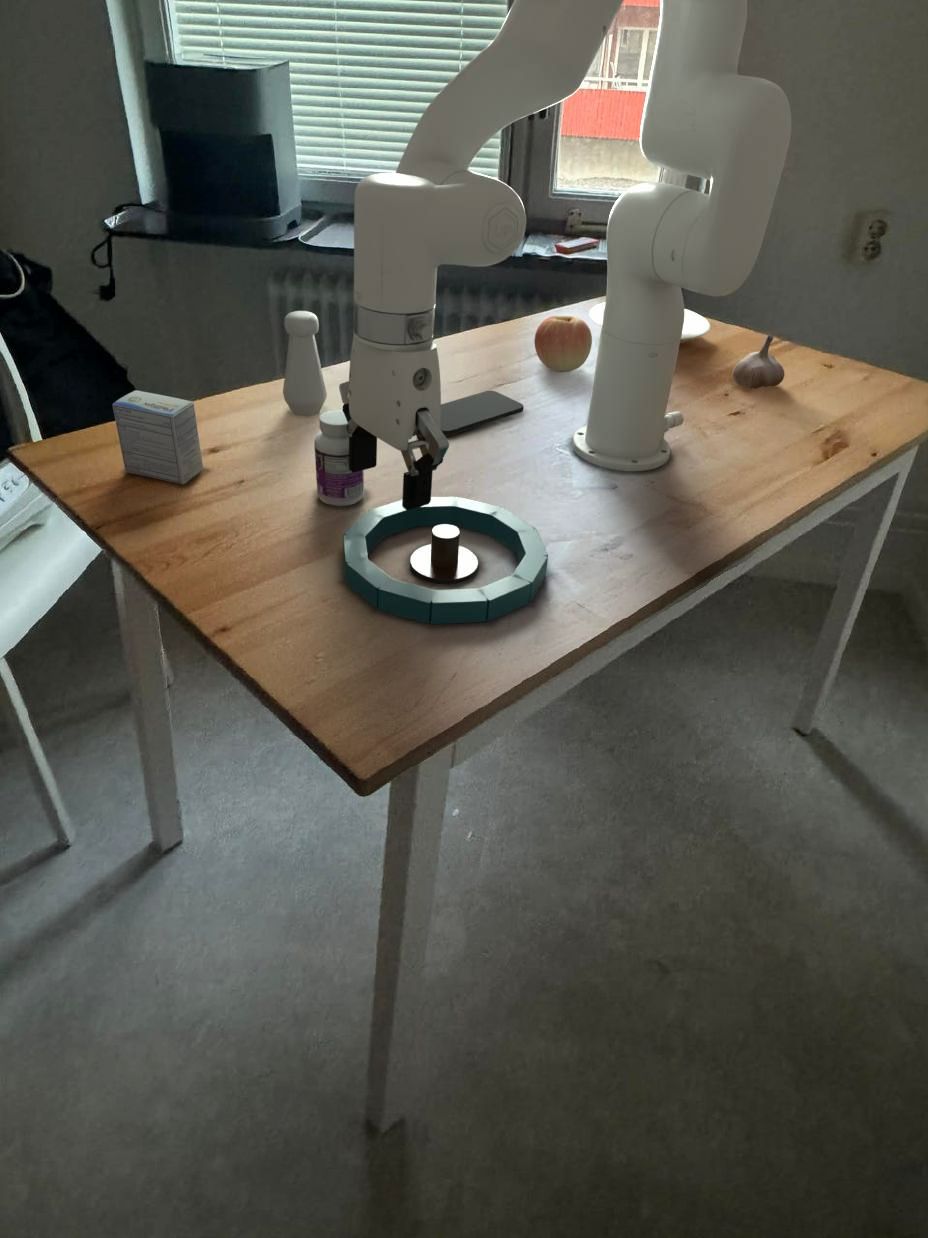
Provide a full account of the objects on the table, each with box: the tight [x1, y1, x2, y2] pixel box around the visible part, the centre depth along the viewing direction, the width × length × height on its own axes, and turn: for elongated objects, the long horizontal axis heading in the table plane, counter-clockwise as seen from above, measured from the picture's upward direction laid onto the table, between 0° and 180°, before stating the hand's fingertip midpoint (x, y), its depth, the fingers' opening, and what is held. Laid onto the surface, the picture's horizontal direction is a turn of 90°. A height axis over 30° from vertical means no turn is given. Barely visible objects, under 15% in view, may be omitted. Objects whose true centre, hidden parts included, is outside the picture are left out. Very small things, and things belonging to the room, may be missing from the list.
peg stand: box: [409, 524, 479, 585], centre depth 89 cm, size 7×7×4 cm
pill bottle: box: [313, 409, 365, 507], centre depth 98 cm, size 5×5×10 cm
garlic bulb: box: [732, 334, 785, 390], centre depth 135 cm, size 8×7×8 cm
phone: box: [440, 390, 525, 437], centre depth 121 cm, size 7×1×15 cm
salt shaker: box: [282, 310, 328, 418], centre depth 116 cm, size 6×6×13 cm
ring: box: [342, 496, 549, 625], centre depth 90 cm, size 20×20×2 cm
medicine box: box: [112, 390, 204, 486], centre depth 101 cm, size 8×4×9 cm, turn 71°
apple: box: [533, 315, 593, 373], centre depth 136 cm, size 9×9×8 cm
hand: (388, 486), depth 93 cm, fingers open, 9 cm apart
